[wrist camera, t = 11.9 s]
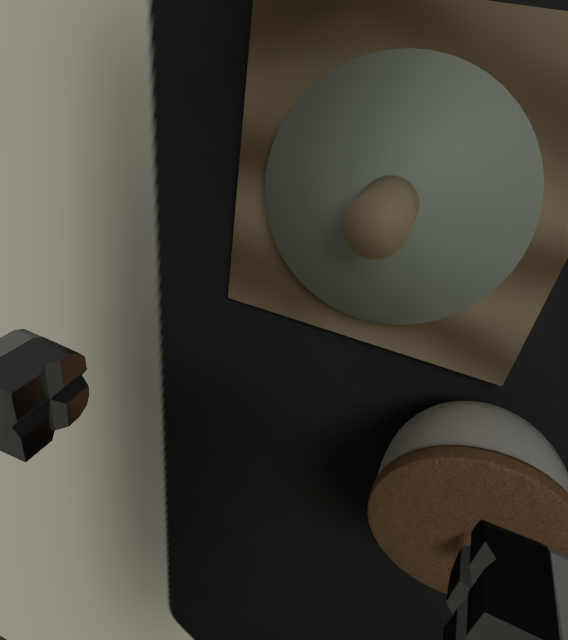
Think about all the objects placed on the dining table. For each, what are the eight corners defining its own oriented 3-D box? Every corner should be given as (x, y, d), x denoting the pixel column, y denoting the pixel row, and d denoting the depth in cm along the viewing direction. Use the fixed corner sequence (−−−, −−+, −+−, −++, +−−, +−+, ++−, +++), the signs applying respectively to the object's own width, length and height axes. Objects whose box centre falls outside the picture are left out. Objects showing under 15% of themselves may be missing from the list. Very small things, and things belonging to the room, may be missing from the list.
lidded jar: (364, 446, 34) (329, 559, 26) (439, 340, 28) (421, 446, 20) (500, 522, 33) (505, 663, 25) (609, 427, 27) (659, 575, 19)
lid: (480, 348, 27) (479, 397, 23) (258, 281, 30) (224, 314, 26) (600, 76, 19) (630, 79, 15) (287, 27, 22) (246, 20, 19)
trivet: (501, 380, 28) (502, 386, 27) (231, 293, 32) (227, 297, 31) (679, 28, 18) (685, 27, 18) (260, -29, 22) (255, -31, 22)
